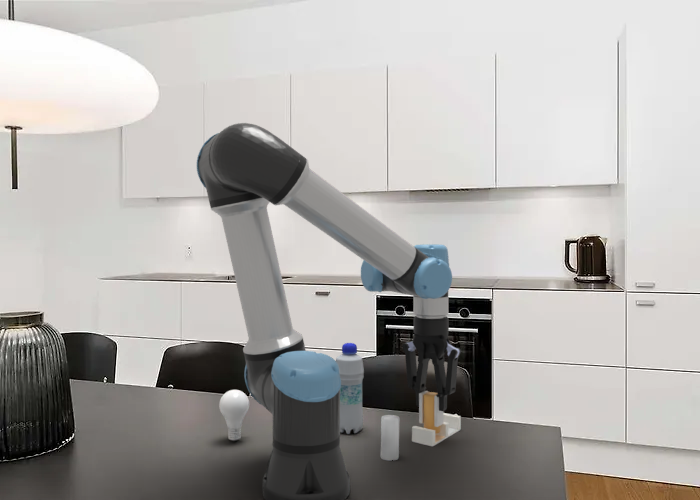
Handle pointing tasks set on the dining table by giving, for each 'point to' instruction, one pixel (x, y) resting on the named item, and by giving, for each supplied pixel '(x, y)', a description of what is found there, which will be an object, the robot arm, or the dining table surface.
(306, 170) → the robot arm
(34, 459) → the dining table surface
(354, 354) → the bottle
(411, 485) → the dining table surface
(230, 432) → the lightbulb
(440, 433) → the rack
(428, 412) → the orange plug
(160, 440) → the dining table surface
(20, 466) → the dining table surface
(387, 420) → the grey plug
